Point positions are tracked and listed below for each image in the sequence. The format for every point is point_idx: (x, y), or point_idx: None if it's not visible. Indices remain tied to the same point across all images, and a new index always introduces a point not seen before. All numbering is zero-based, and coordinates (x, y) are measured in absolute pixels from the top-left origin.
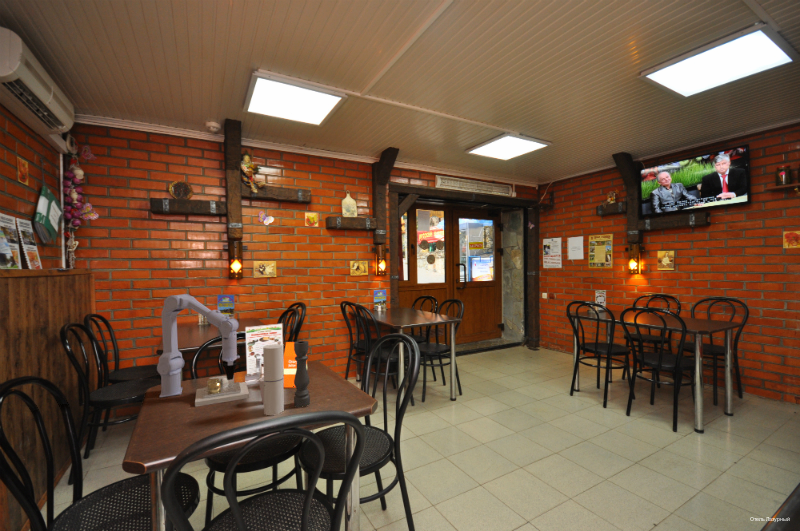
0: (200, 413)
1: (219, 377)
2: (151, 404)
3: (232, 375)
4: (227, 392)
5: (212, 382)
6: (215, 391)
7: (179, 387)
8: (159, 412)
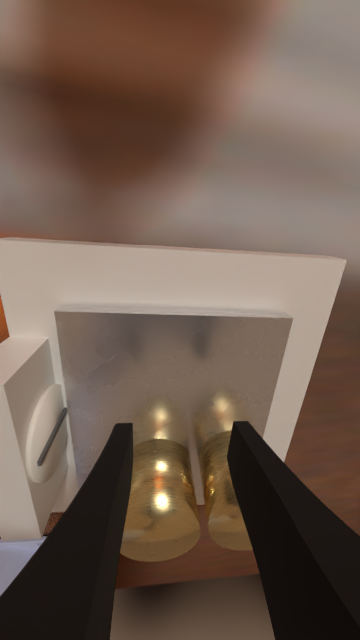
0: (356, 459)
1: (22, 488)
2: (131, 582)
3: (271, 461)
4: (270, 395)
5: (234, 536)
6: None
7: (10, 577)
8: (238, 553)
